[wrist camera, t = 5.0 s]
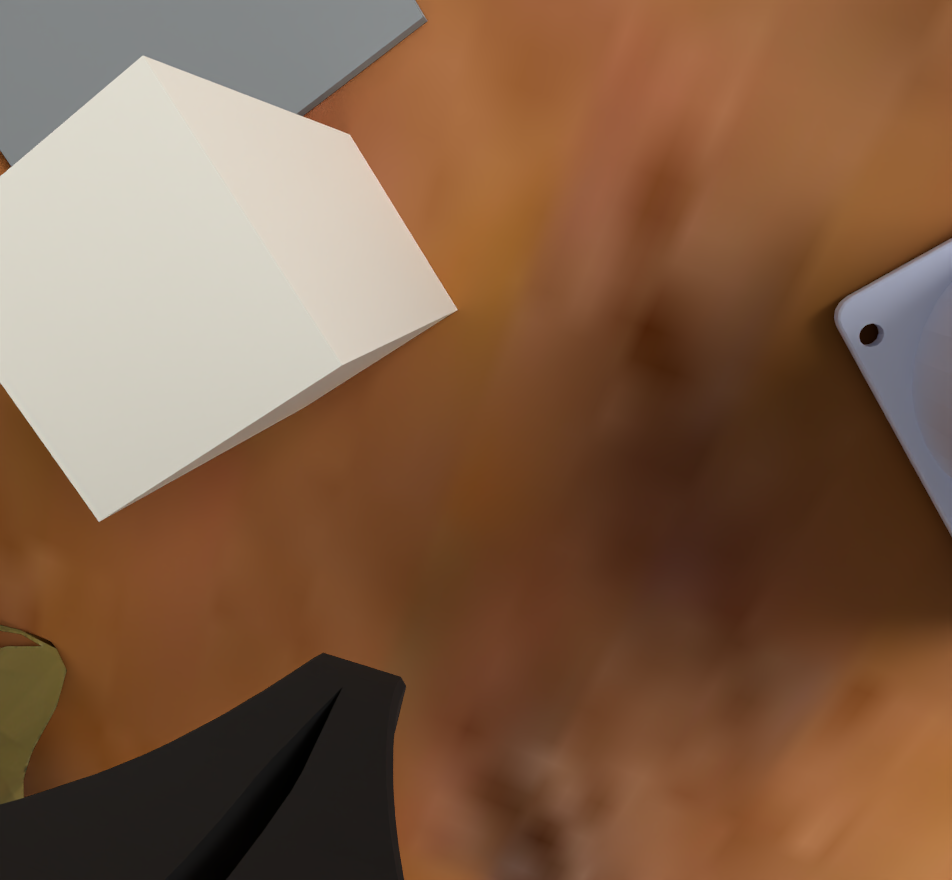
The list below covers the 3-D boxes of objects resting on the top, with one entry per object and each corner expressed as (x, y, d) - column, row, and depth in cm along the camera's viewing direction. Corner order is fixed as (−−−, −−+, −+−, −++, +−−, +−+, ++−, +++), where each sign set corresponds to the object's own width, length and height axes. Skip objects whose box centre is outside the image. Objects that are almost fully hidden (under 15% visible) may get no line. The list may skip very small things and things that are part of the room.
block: (457, 309, 20) (342, 365, 12) (304, 407, 22) (99, 522, 13) (349, 134, 20) (142, 55, 11) (198, 246, 21) (-91, 253, 12)
